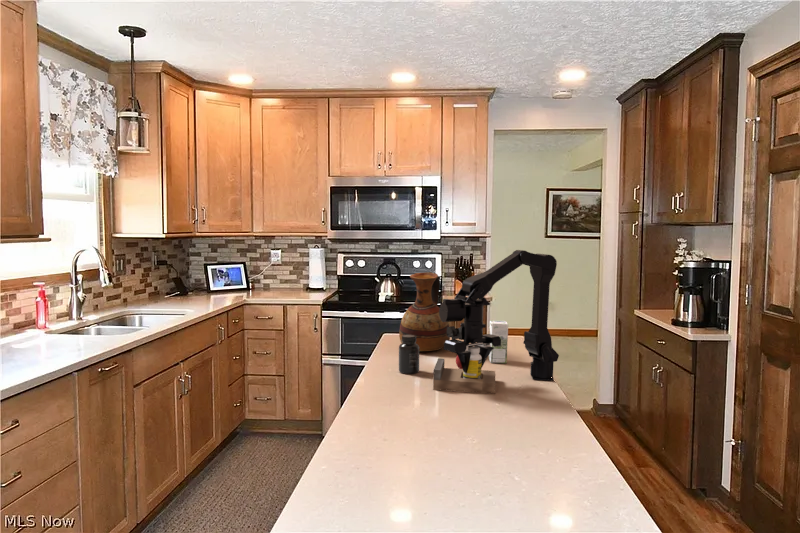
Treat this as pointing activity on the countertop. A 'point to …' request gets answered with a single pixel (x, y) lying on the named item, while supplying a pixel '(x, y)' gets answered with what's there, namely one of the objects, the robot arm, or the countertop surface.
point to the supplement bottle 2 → (474, 364)
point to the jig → (462, 380)
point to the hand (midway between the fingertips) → (472, 371)
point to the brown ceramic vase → (425, 314)
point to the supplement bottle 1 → (409, 355)
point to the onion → (458, 362)
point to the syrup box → (501, 351)
